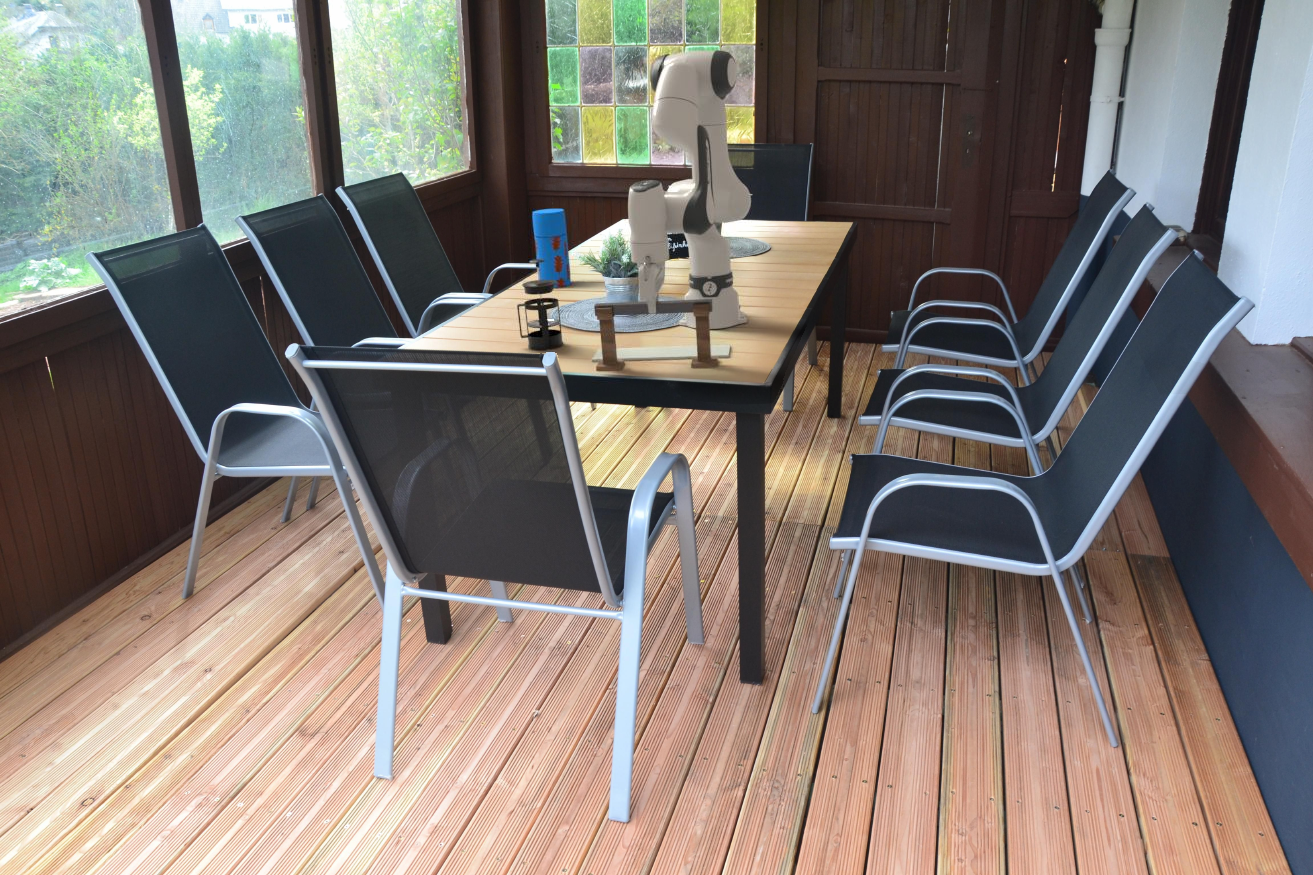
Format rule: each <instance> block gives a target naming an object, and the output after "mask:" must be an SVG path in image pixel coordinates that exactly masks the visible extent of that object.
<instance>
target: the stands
mask: <svg viewBox="0 0 1313 875" xmlns="http://www.w3.org/2000/svg"><path fill="white" fill-rule="evenodd" d="M596 312H597V316H596V320H597V321H598V322H599V331H600V343H601V344H600V345H601V349H602V357H603V360H600V361H598V363H597V364H596V366H595V369H596V370H595V371H621V370H622V368H623V367H624V364H625V361H624V359H617V352H616V348H617V343H616V342H617V341H616V328H615V316H616V315H612V308H597V309H596ZM693 313H694V316H695V318H696V328H695V332H696V333H695V334H696V346H697V357H693V359H691V362H690V367H691V368H692V369H693V368H694V369H695V368H696V369H697V368H698V369H699V368H700V369H701V368H717V365H718V360H719V358H718V356H711V346H710V345H711V329H710V325H709V314H710V312H709V304H697V305H693Z"/></svg>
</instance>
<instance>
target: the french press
mask: <svg viewBox="0 0 1313 875" xmlns="http://www.w3.org/2000/svg"><path fill="white" fill-rule="evenodd" d="M544 261H545V260H543V259H537V258H536V259H531V260H529V262H528V263H530V264H535V268H536V270H537V280H536V279H535V280H531V281H526V282H524V283H522V287H523V288H524V293H525V294H526V295H539V297H537V298H533V299H528V300H526V301H524V303H517V305H516V308H517V309H516V310H517V317H518V326H519V334H520V338H521V339H528V341H527V342H528V345H527V348H528V349H530V350H533V351H548V350H547V349H550V350H554V349H559V348H561V347H563V345H564V341H563V334H562V324H561V313H560V304H559V299H558V298H555V297H542V295H545V294H550V293H552V292H553V291H554V289H555V288H554V286H555V284H556V283H557V282H556V281H555V280H540V277H539V268H538V267H539V263H540V262H544ZM520 307H524V314H525V322H526V332H527V334H524V335H523V334H522V323H521V314H520ZM555 308H557V312H558V319H556V318H549V317H548V310H551V309H552V310H553V309H555ZM527 311H537V313H538V315H537V317H538V319H533V320H531V321H528V315H527ZM557 325H559V329H551V327H555V326H557ZM529 328H533V329H538V330H534V331H531V332H529Z"/></svg>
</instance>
